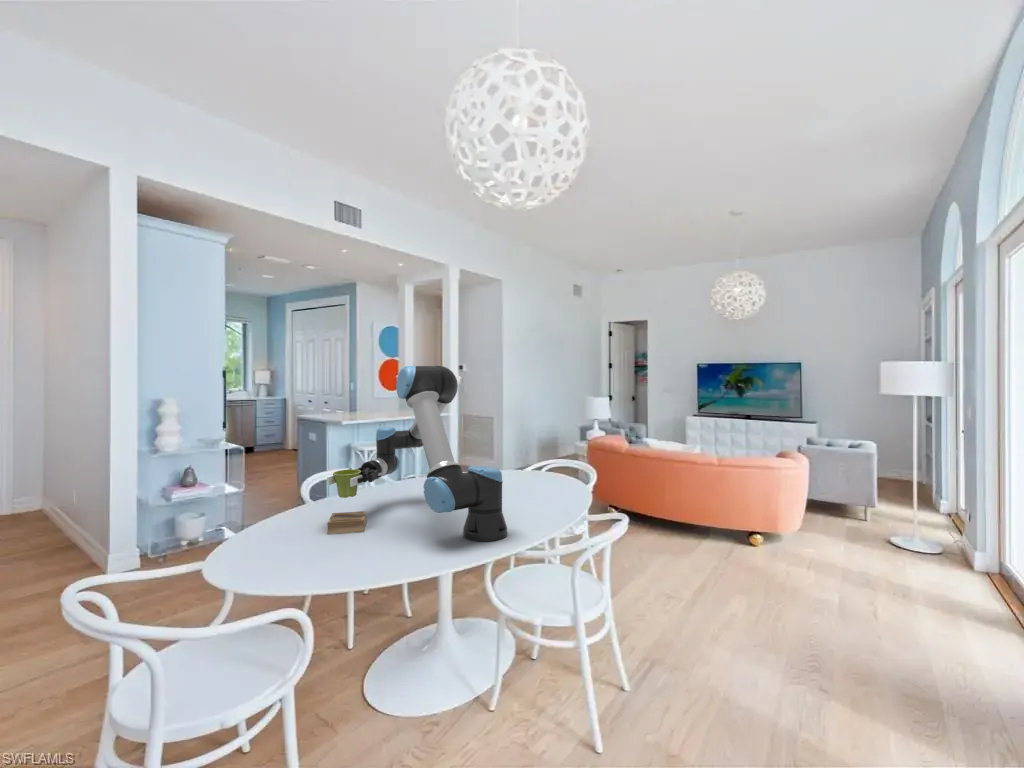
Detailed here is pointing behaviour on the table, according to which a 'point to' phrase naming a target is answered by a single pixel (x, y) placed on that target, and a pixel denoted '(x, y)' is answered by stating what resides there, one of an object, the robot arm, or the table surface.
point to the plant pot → (346, 482)
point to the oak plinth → (347, 522)
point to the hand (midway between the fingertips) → (339, 481)
